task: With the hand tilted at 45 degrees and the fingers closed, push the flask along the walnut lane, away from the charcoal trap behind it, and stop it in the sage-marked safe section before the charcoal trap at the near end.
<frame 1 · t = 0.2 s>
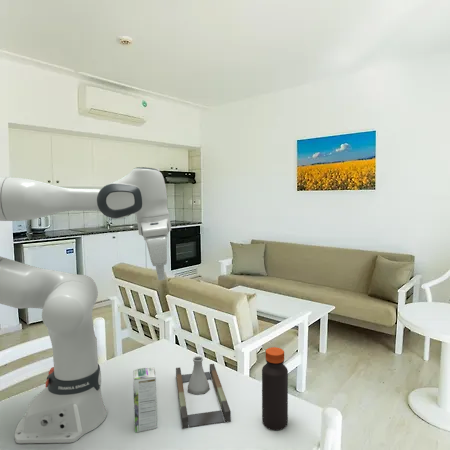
hand: (160, 275, 98), 39 cm above the table, tool pointing down, fingers open, 8 cm apart
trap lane: (200, 396, 108), on the table
syrup box: (145, 424, 95), on the table
flask: (198, 389, 112), on the table
bottle: (274, 423, 95), on the table
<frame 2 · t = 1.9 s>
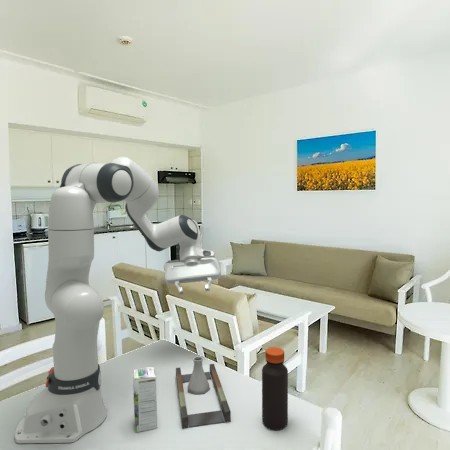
hand: (194, 291, 125), 27 cm above the table, tool tilted 40°, fingers open, 8 cm apart
nothing on the table moved.
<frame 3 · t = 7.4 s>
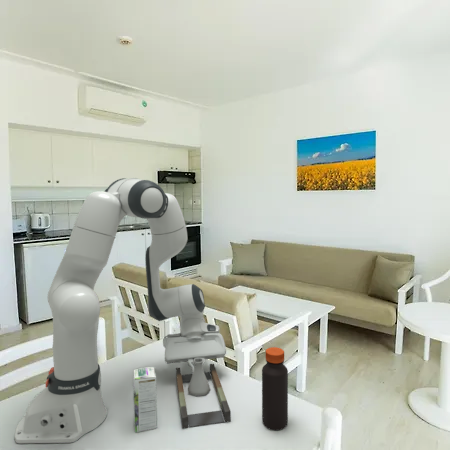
hand: (197, 373, 113), 4 cm above the table, tool tilted 45°, fingers closed, pressing on flask
flask: (199, 390, 111), on the table, touching gripper
everything else where it was.
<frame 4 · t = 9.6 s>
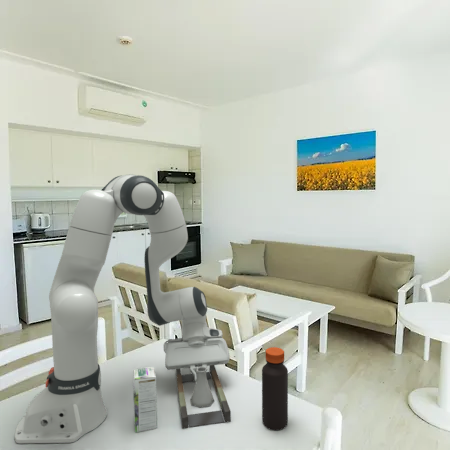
hand: (199, 380, 107), 5 cm above the table, tool tilted 45°, fingers closed
flask: (202, 401, 105), on the table
everything else where it was.
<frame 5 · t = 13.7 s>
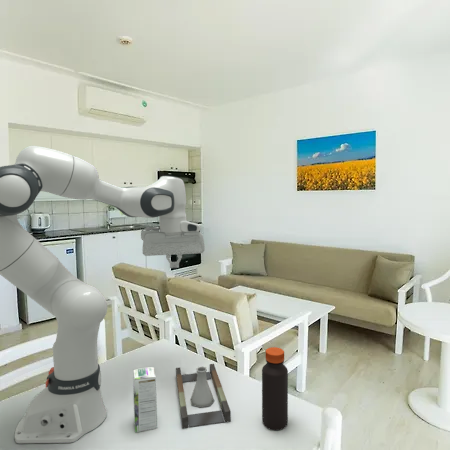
hand: (174, 267, 117), 37 cm above the table, tool pointing down, fingers closed
nothing on the table moved.
at the end: flask 1.7 cm from the target spot, on the table; flask tilted 0°; flask moved 6.8 cm from its start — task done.
